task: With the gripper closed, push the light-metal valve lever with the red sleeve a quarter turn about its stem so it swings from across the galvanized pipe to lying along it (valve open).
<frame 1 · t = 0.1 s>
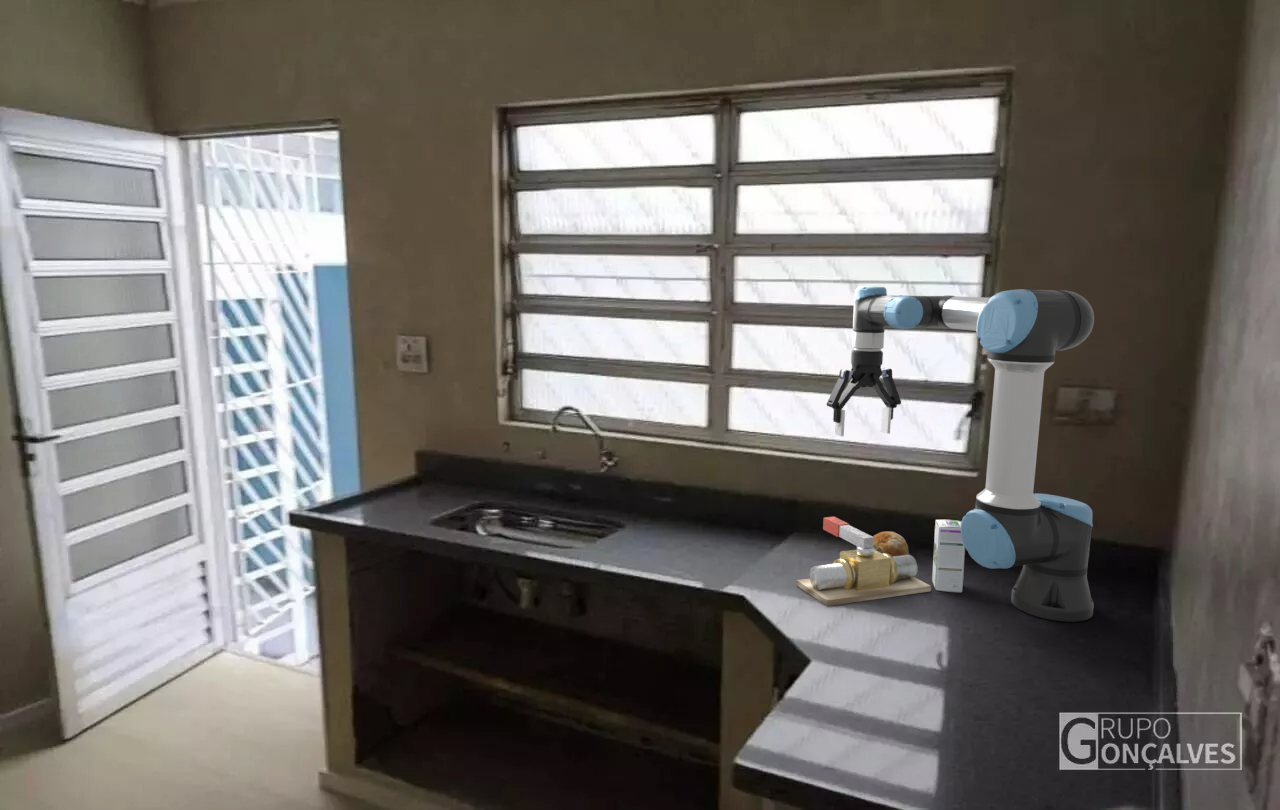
hand: (862, 434, 206), 28 cm above the worktop, fingers open, 13 cm apart
syrup box: (946, 587, 180), on the worktop
valve: (863, 588, 179), resting on mounting board
lever: (848, 536, 183), point 10 cm above the worktop, hinge at 0.0°
mounting board: (863, 588, 179), on the worktop
bread roll: (886, 557, 200), on the worktop
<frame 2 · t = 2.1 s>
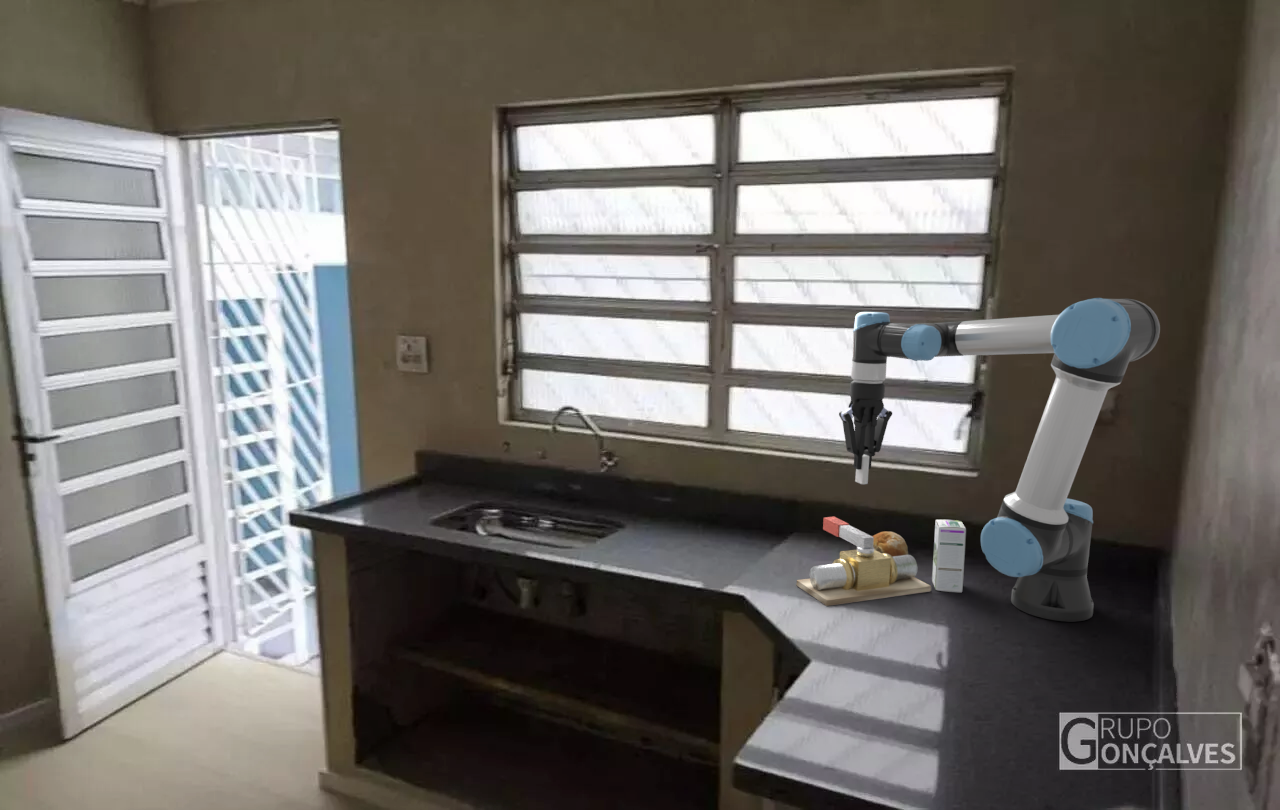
hand: (861, 482, 189), 20 cm above the worktop, fingers closed
nothing on the worktop moved.
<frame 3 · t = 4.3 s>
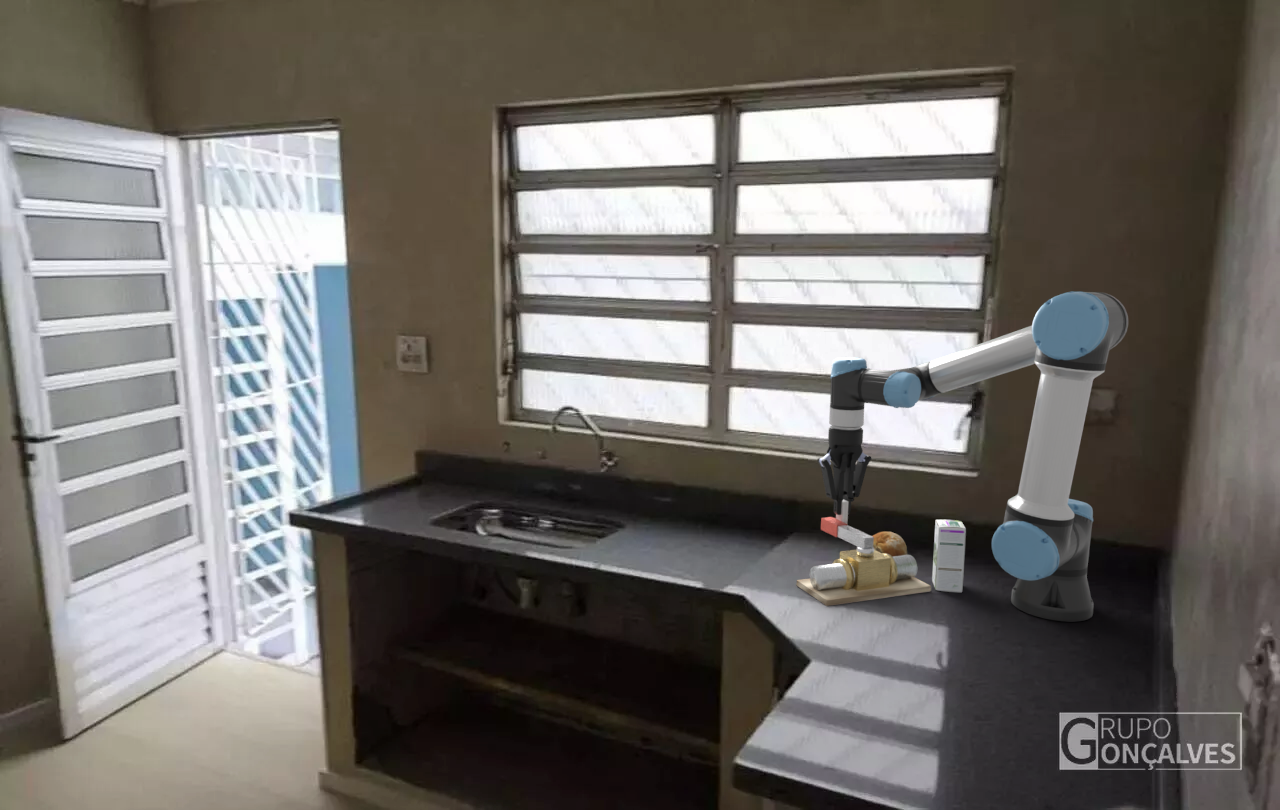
hand: (841, 527, 188), 10 cm above the worktop, fingers closed
lever: (847, 536, 183), point 10 cm above the worktop, hinge at 2.6°, touching gripper
everything else where it was.
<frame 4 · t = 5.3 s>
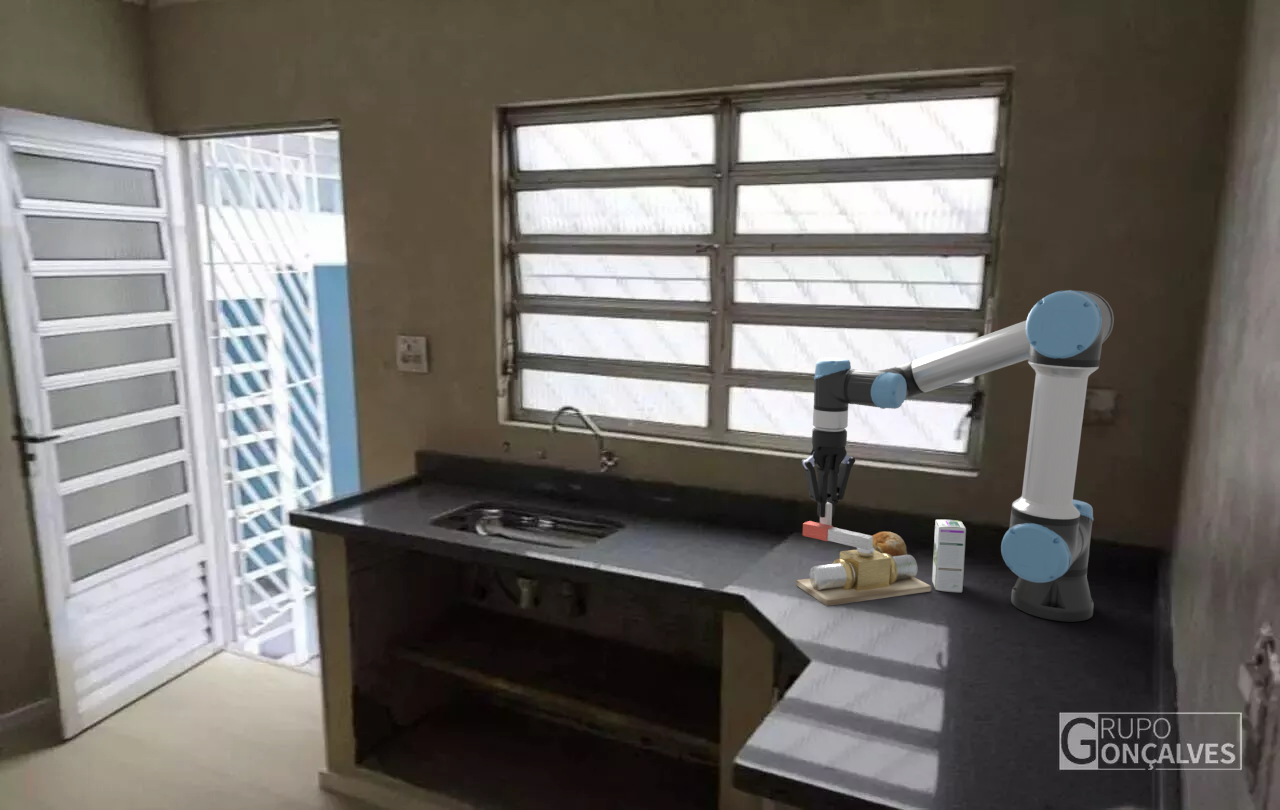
hand: (825, 530, 186), 10 cm above the worktop, fingers closed
lever: (838, 538, 181), point 10 cm above the worktop, hinge at 29.6°, touching gripper
everything else where it was.
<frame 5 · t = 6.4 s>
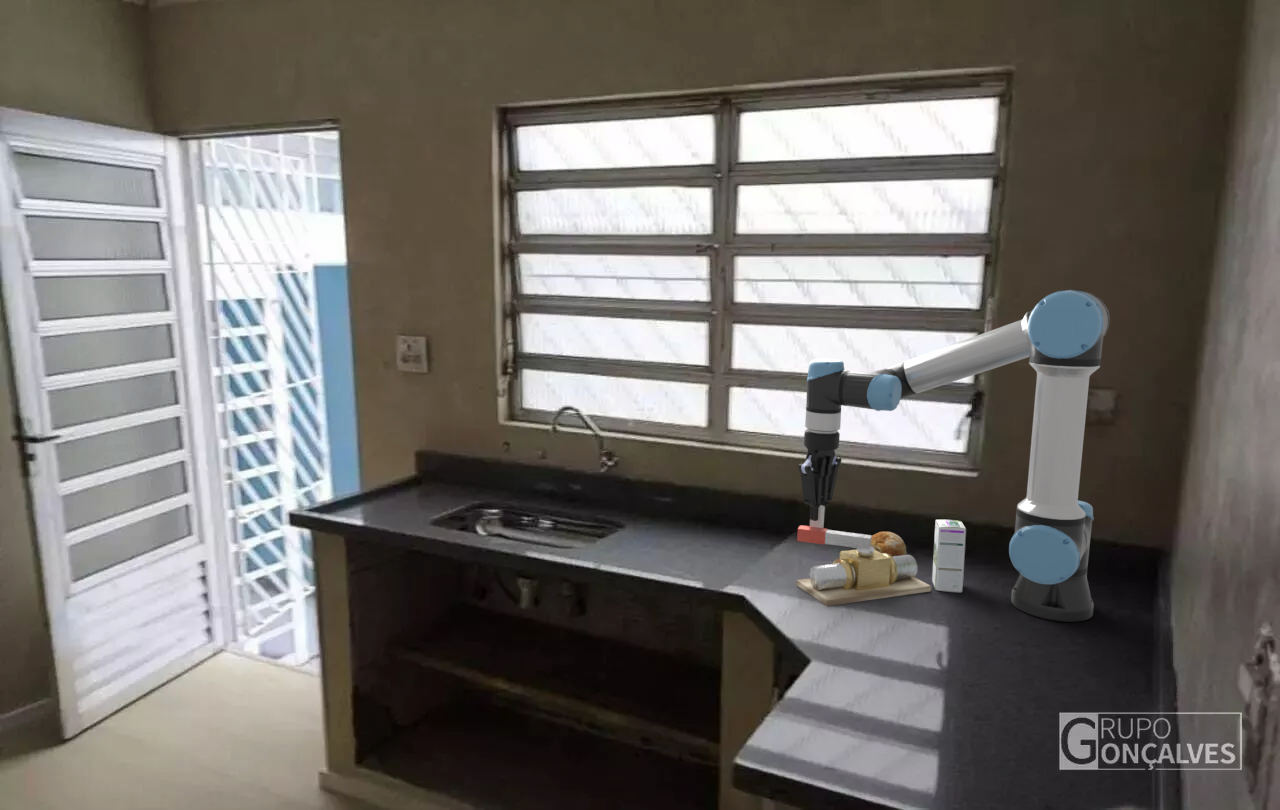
hand: (816, 533, 184), 10 cm above the worktop, fingers closed
lever: (835, 540, 180), point 10 cm above the worktop, hinge at 47.1°, touching gripper
everything else where it was.
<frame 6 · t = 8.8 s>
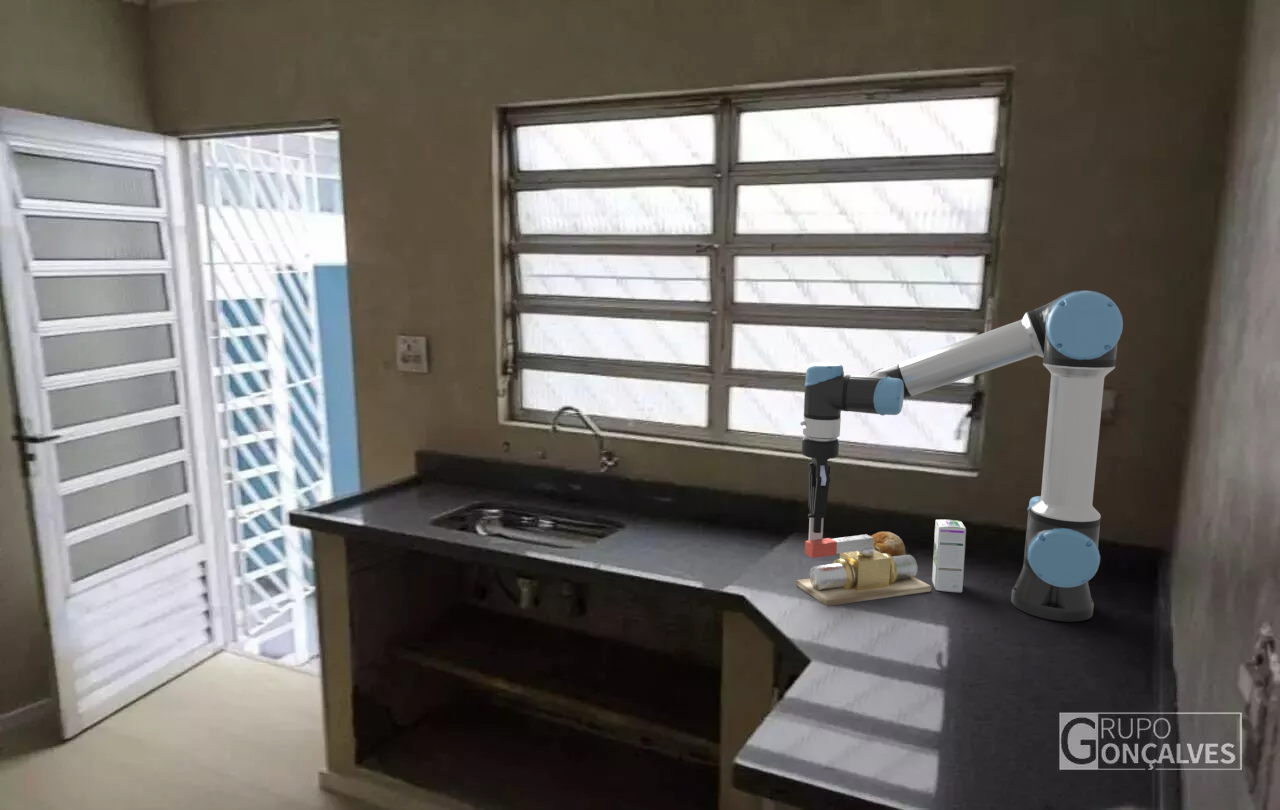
hand: (815, 545, 175), 10 cm above the worktop, fingers closed
lever: (841, 548, 175), point 10 cm above the worktop, hinge at 92.4°, touching gripper
everything else where it was.
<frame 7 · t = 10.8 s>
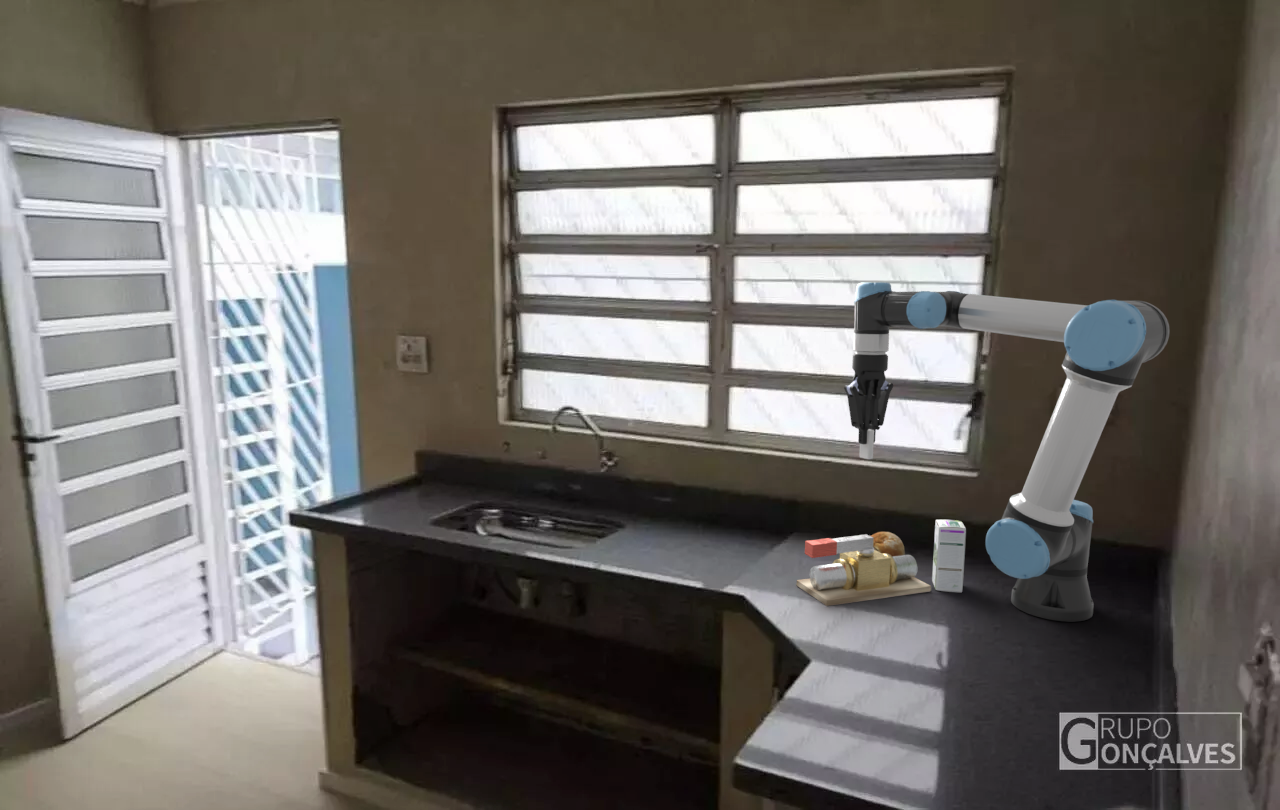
hand: (866, 457, 185), 27 cm above the worktop, fingers closed
lever: (841, 548, 175), point 10 cm above the worktop, hinge at 92.4°
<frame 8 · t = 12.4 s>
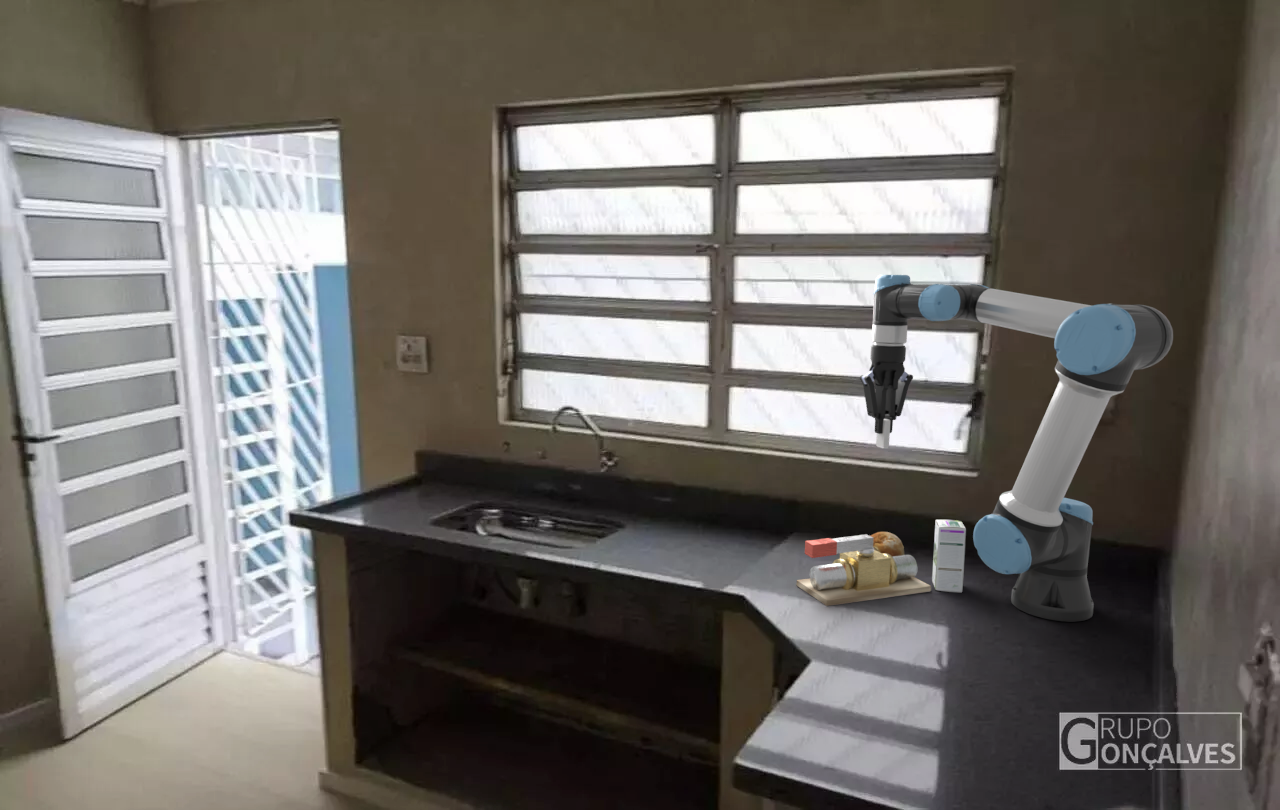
hand: (882, 447, 188), 28 cm above the worktop, fingers closed
at the end: lever at +92° (first picture: +0°); lever touching nothing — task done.
